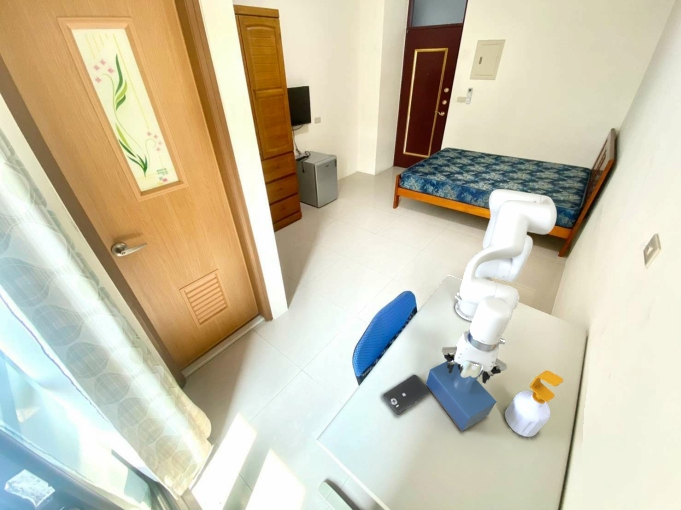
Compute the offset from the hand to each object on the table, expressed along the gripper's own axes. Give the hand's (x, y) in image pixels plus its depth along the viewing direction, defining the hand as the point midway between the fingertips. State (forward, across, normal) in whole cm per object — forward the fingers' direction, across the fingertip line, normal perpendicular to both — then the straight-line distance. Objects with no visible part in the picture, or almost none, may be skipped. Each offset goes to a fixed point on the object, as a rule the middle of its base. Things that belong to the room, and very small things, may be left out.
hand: (466, 374), depth 85 cm
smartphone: (+16, +16, +3) cm, 22 cm away
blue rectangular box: (+16, 0, 0) cm, 16 cm away
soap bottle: (+16, -20, 0) cm, 25 cm away
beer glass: (+6, 0, 0) cm, 6 cm away
